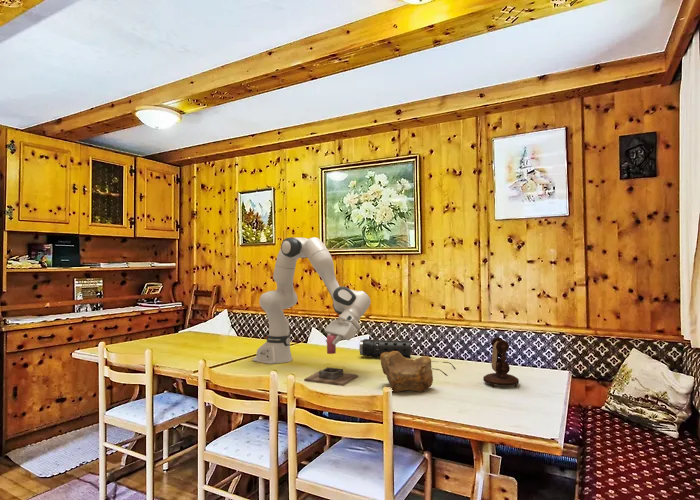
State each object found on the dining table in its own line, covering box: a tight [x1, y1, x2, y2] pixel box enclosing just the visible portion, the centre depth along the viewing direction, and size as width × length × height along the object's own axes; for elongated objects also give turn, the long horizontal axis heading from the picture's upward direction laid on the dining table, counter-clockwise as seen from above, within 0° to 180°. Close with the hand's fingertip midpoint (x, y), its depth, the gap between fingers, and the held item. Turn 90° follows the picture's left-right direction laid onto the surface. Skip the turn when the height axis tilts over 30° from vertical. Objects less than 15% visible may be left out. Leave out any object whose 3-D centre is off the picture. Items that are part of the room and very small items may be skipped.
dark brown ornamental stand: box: [482, 336, 520, 388], centre depth 194 cm, size 15×15×20 cm
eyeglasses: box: [431, 360, 457, 376], centre depth 219 cm, size 16×19×5 cm
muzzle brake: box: [358, 338, 412, 359], centre depth 247 cm, size 10×28×10 cm, turn 78°
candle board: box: [303, 367, 359, 387], centre depth 206 cm, size 20×16×4 cm
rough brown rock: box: [379, 351, 434, 393], centre depth 187 cm, size 23×17×15 cm
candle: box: [326, 334, 337, 355], centre depth 206 cm, size 4×4×9 cm
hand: (330, 343), depth 205 cm, fingers closed on candle, 4 cm apart
